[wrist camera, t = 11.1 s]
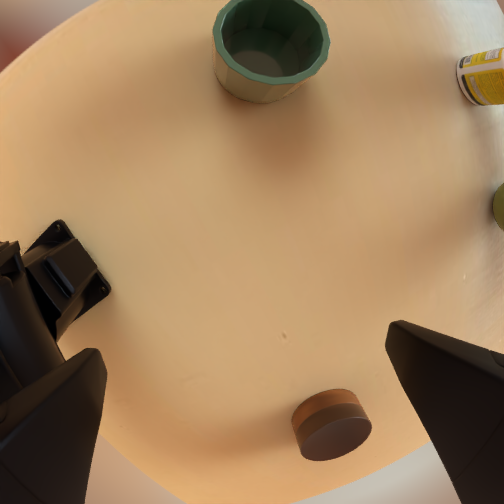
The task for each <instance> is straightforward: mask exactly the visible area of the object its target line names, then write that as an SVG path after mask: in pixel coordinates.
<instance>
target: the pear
mask: <svg viewBox="0 0 504 504" xmlns="http://www.w3.org/2000/svg"><path fill="white" fill-rule="evenodd" d="M493 212H494V217H495V220H496V222H497V224H498V225H499V227H500V228H501V229H502V230H503V231H504V183H503V184H502V185H501V186H500V187H499V188H498V189H497V191H496V193H495V196H494V200H493Z"/></svg>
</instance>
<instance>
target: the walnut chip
mask: <svg viewBox="0 0 504 504" xmlns="http://www.w3.org/2000/svg"><path fill="white" fill-rule="evenodd" d="M371 429H372V425H371V422H370V420H369V418H368V417H367V415H366V413H365V411H364V409H363V408H362V407H361V406H359V405H357V404H354V403H339V404H335V405H331V406H328V407H325V408H323V409H321V410H319V411H317V412H315V413H313V414H312V415H310V416H309V417H308V418H306V419H305V420H304V421H303V422H302V423H301V424H300V426H299V427H298V429H297V432H296V439H297V442H298V446H299V449H300V452H301V454H302V456H303V457H304V458H306V459H308V460H312V461H325V460H331V459H335V458H338V457H341V456H343V455H345V454H347V453H349V452H351V451H353V450H354V449H356V448H357V447H359V446H360V445H361V444H362V443H363V442H364V441H365V440H366V439H367V438H368V436H369V435H370V433H371Z"/></svg>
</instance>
